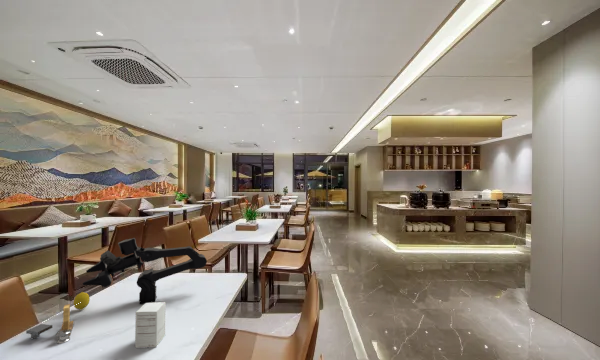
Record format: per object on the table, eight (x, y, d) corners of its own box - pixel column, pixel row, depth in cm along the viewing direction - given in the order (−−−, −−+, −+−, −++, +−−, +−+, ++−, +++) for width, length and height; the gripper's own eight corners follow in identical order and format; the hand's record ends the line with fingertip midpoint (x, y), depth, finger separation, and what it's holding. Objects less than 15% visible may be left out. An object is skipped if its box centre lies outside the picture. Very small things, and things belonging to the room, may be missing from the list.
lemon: (80, 313, 112) (80, 295, 112) (69, 312, 113) (70, 294, 113) (92, 307, 117) (93, 290, 117) (82, 306, 118) (83, 289, 118)
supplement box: (145, 336, 95) (146, 302, 95) (165, 335, 96) (166, 301, 96) (134, 348, 88) (134, 311, 88) (156, 347, 88) (157, 311, 89)
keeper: (52, 334, 95) (52, 325, 96) (37, 342, 91) (38, 331, 91) (40, 333, 96) (41, 323, 96) (25, 341, 92) (26, 330, 92)
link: (70, 335, 94) (71, 308, 95) (58, 338, 93) (59, 311, 93) (73, 324, 102) (74, 299, 102) (62, 327, 100) (63, 301, 100)
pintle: (73, 336, 95) (73, 328, 95) (68, 342, 91) (68, 334, 91) (59, 338, 93) (59, 330, 93) (53, 345, 89) (53, 336, 90)
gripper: (119, 239, 125) (80, 252, 118) (117, 260, 110) (72, 276, 103) (128, 257, 129) (90, 270, 122) (126, 279, 114) (84, 296, 107)
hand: (84, 277), depth 114 cm, fingers open, 9 cm apart
